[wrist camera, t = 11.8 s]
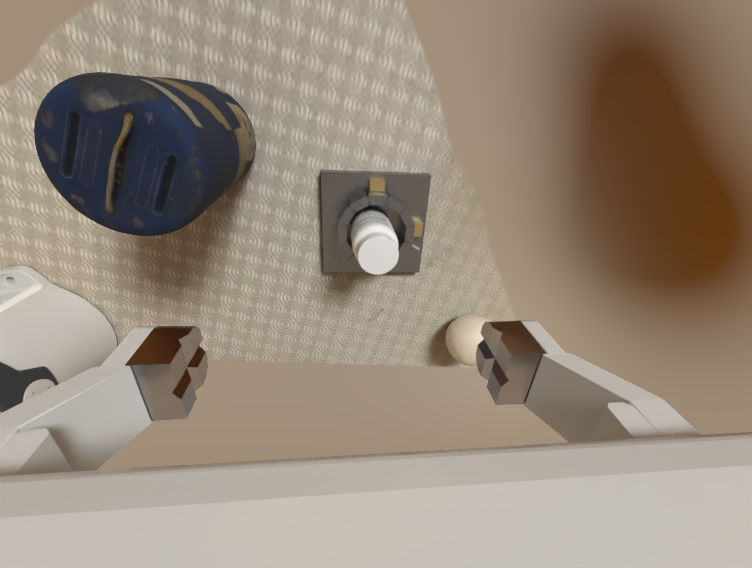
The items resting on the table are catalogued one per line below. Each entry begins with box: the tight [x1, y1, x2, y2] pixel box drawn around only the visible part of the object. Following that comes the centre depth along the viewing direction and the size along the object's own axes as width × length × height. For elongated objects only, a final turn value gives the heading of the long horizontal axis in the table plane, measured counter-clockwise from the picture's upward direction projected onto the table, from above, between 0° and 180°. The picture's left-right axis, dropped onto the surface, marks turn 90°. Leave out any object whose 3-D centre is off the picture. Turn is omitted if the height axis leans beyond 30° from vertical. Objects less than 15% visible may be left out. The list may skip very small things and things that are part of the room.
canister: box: [34, 72, 256, 236], centre depth 27 cm, size 10×10×18 cm
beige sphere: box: [445, 314, 493, 366], centre depth 47 cm, size 7×7×7 cm
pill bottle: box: [350, 208, 399, 275], centre depth 36 cm, size 5×5×8 cm
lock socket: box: [321, 170, 431, 272], centre depth 39 cm, size 12×12×4 cm
